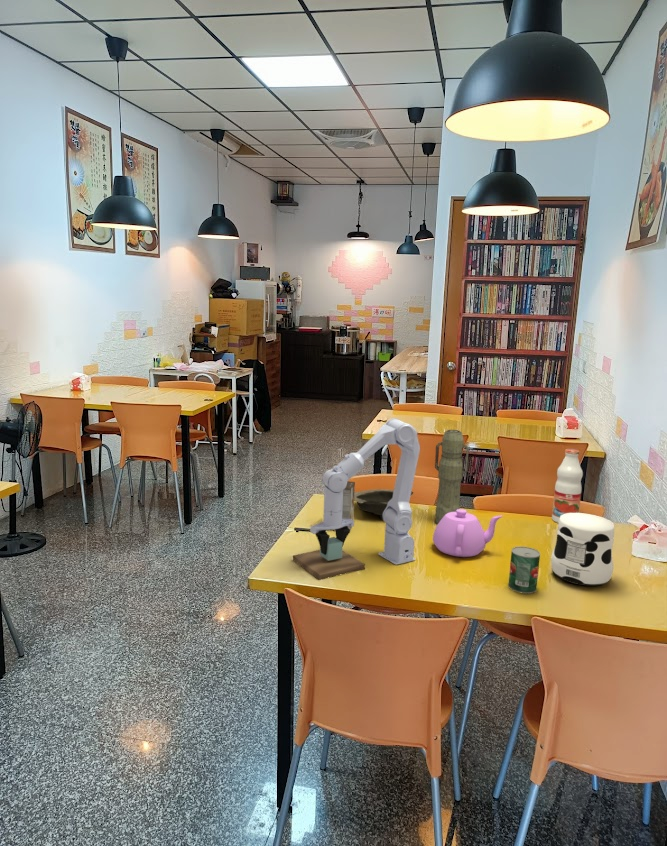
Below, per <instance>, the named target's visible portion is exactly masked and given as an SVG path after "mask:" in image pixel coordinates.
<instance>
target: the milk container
mask: <svg viewBox="0 0 667 846" xmlns="http://www.w3.org/2000/svg"><path fill="white" fill-rule="evenodd" d="M557 524H558V525H557V531H556V541H555V545H554V548H553V550H552V553H551V558H550V563H551V569H552V571H553V573H554V574H555V575H556V576H557V577H559V578H560V579H562V580H563V581H567V582H568V583H571V584H577V585H579V586H587V587H588V586H589V587H591V586H592V587H594V586H595V587H597V586H601V585H605V584H607V583H608V582H610V580H611V578H612V575H613V573H614V560H613V547H614V546H613V545H614V538H615V524H614V523H613V521H612V520H609V519H608V518H606V517H603V516H598V515H595V514H590V513H586V512H585V513H584V512H583V513H582V512H579V513H566V514H563V515H561V516H560V520H559V523H557Z"/></svg>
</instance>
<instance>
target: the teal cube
mask: <svg viewBox="0 0 667 846" xmlns="http://www.w3.org/2000/svg"><path fill="white" fill-rule="evenodd" d="M343 546H344V545H343V542H342V541H340V540H338V539H337V538H336V536H333V537H329V539H328V544H327V553H326V555H324V554H323V553H321V549H320V548H319V550H320V555H321V556H322V557H323V558H325V559H326V560H328V561H330V560H334V559H339V558H342V551H344V550H343V549H344V547H343Z"/></svg>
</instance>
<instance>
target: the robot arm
mask: <svg viewBox="0 0 667 846" xmlns="http://www.w3.org/2000/svg"><path fill="white" fill-rule="evenodd" d="M387 445H388V446H389V445H391V446H392V445H393V446H394V445H397V446H398V448H399V449H400V450H401V454H400V459H399V462H398V468H397V474H396V477H395V478H396V479H395V483H394V488H393V490H394V492H393V497H392V499H391V500H390V501H389V502H388V504H387V507H386V509H385V510H384V512H383V522H384V523H385V527H384V544H383V545H384V546H383V547H384V548H383V551H380V552H378V556H380V557H382V558H384V559H385V560H386V561H388V562H391V563H392V564H394V565H395V566H396V565H400V564H401V565H402V564H404V563H410V562H413V561H415V560H416V557H414V555H415V554H414V552H415V540H414V538H413V537H412V536H411V535H410V534H409V532H410V530H411V528H412V526H413V519H412V513H413V511H412V508H411V505H410V500H411V496H412V495H411V491H412V492H413V485H414V481H415V480H414V479H415V474H416V469H417V467H418V466H417V465H418V460H419V457H420V451H421V446H420V442H419V438H418V431H417V430H416V429H415V427H414V426H413V425H412V424H410V423H408V422H407V423H406V422H404V421H402V420H400V419H399V418H394V417H393V418H389V419H388V420H387V421H386V422H385V423H384V424H383V425H381V426H380V427H379V429H378V430H377V432H376V433H375V434H374V435H373V436H372V437H371V438H370V439H369V440H368V441H367V442H366V443H365V444H364V445H362V447H361V448H359V450H358V451H357V452H350V453H349V454H348V453H345V455H344V458H343V459H342V460H341V461H340V462H339V463H337V464H336V465H333V466H332V468H331V469H328V470H326V471H325V472H324V474H323V476H322V478H321V482H322V485H324V491H323V492H324V493H323V494H324V495H323V514H322V515H323V517H322V518H323V520H322V521H321V522H319V523H316V524H313V525H310V527H309V528H310V530H309V532H310V533H311V534H313V535H315V537H316V539H317V541H318V544H319V550H320V549H321V553H323V554H324V555H326V553H327V544H328V539H329V538H330V534H328V531H331V530H332V531H333V529H335V531H334V532H335V538H337V539H338V540H340V541H342V542H343V546H344V544H345V541H346V539H347V538H348V536H349V534H350V533H351V530H350V529H349V528H348V526H350V527H354V525H355V520H354V519H353V520H352V519H342V511H343V510H342V509H343V489H345V488H346V485H347V482H348V481H350V480H351V479H352V478H354V476H355V475H356V474H357V473H358V472H359V471H361V469H363V468H364V466H365V461H366V460H368V459H369V458H370V457H372V455H374V454H375V453H376V452H378V450H380V449H381V448H383V447H384V446H387Z"/></svg>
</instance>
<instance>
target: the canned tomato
mask: <svg viewBox="0 0 667 846" xmlns="http://www.w3.org/2000/svg"><path fill="white" fill-rule="evenodd" d="M540 558H541V552H540V551H539V550H538V549H535V548H533V547H529V546H515V547H513V548H511V554H510V565H509V573H508V583H507V584H508V585H507V586H508V588H509V587H510V588H511V591H514V592H516V591H517V593H519V592H522V593H521V594H527V593H528V594H533V593H532V592H534V593H536V591H537V590H538V589H537V587H538V579H539V570H540V569H539V568H540V560H541V559H540ZM510 588H509V589H510Z"/></svg>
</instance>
